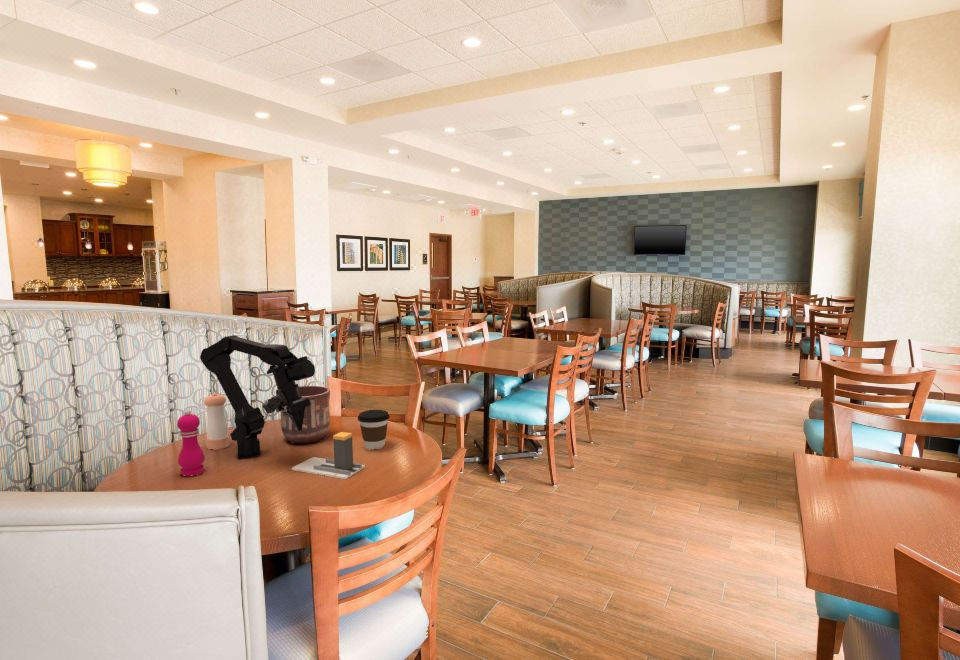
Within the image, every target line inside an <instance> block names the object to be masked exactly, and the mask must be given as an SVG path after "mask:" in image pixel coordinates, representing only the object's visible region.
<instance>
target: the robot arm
mask: <svg viewBox="0 0 960 660" xmlns="http://www.w3.org/2000/svg"><path fill="white" fill-rule="evenodd" d="M235 351H236V352H240V353H242V354H247V355H251V356H253V357H256V358H258V359H260V362H262V363H265V364H267V365H269V368H268V370H267V371H266V374H267V375H269V374H272V376H273V378H274V382H275V384H276V389H275V394H276V395H274V396H271V397H270V398H269V399H268V400H267V401H266V402H265V403H263V404H261V407H262V408H263V409H264V411H265V412H266V413H267V414H268V415H269V414H273V413H275V411H276V413H280V411H281V410H284V412H283V413H282V414H285V415H287V416H289V417H290V419H291V420H292V422H293V424H294V425H295V427H296V428H297V430H298V431H300V430H302V426H303V419H304V413H305V408H306V407H307V406H310V405H311V402H310V399H308V398H306V397H305V398H302V396H299V393H298V389H297V387H299V384H298V383H296V382H297V381H300V380H301V381H302V380H304V379H305V380H306V379H309V378H312V377H314V376H315V373H316V368H315V364H314V363H313V362H312V361H311V360H309V359H308V357H307V356H306V355H305V356H302V357H297V356H296V355H295V354H294V353H293V352H292V351H291V350H290V349H289V347H288V346H287V345H285V344H268V343H267V344H265V343H261V342H258V341H254V340H250V339H247V338H243V337H240V336H238V335H234V334H233V335H232V334H231V335H227V336H223V337H221V339H219V340H218V341H216V342H215V343H213V344H212V345H210V346H208V347H205V348H203V349H201V352H200V355H199V359H200V361H201V363H202V364H203V365H204V367H205V368H206V370H207V371H210V372H211V373H212V374H214V375H215V377H216V378H217V380H218V382H219V384H220V386H221V388H222V390H223V391H224V393H225V397H226V399H227V400H228V401H229V404H230V405H231V407H232V409H233V411H234V425H235V428H234V429H233V430H232V431H231V433H230V435H229V437H230V439H231V441H236V449H237V452H236V454H237V456H236V457H237V459H238V460H239V459H240V460H241V459H247V458H255V457H259V456H260V453H261V445H260V438H258V435H261V434H262V432H263V429H264V427H265V423H266V421H265V415H263V413H262V410H261V408H260V407H259V406H257V407H253V406H252V405H251V404H250V403H249V401H248V399H247V396H246V394H244V391H243V389H242V387H241V385H240V384H239V382H238V379H237V378H236V376H235V375H234V372H233V370H232V369H231V365H232V357H231V354H233V353H234V352H235Z"/></svg>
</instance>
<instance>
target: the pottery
mask: <svg viewBox="0 0 960 660" xmlns="http://www.w3.org/2000/svg"><path fill="white" fill-rule="evenodd" d="M298 386H299V385H298ZM297 389H298V393H299V396H302V398H305V397H306V398H308V399H310V402H311V405H310V406H307V407H306V408H305V413H304V419H303V426H302V430H300V431H298V430H297V428H296V427H295V425H294V424H293V422H292V420H291V419H290V417H289V416H287V415H285V414H282V413H283V412H284V410H281V411H280V412H279V413H280V427H281V428H280V429H281V431H282V434H283V436H284V438H285V439H286V440H287V441H288V442H289V443H291V442H292V444H295V443H300V444H299V445H302V444H301V443H307V444H312V443H311V442H313V443H316V442H319V441H321V440H322V439H323V438H324V437H325V436H326V434H327V433H328V432H329V429H330V425H331V424H330V421H331V419H330V398H331V390H330V388H328V387H326V386H320V385H301V386H299V387H297ZM320 439H321V440H320ZM318 440H319V441H318ZM315 441H316V442H315Z"/></svg>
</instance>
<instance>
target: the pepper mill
mask: <svg viewBox="0 0 960 660" xmlns="http://www.w3.org/2000/svg"><path fill="white" fill-rule="evenodd" d="M183 413H184V415H182V416H180V417H179V418H178V420H177V423H176V425H177V429H179V430H180V431H179V436H180V437H181V440H182V446H181V449H180V451H179V454H178V457H177V463H178V465H179V466H180V467H181V468H180V475H181V474H182V475H185V476H191V475H196V476H198V475H197V474H199V475H201V474H204V472H205V466H204V464H203V463H204V461H205V460H206V457H205V453H204V451H203V449H202V447H200V445H199V441H198V435H199V434H200V432H199V426H200V423H201V421H200V420H201V419H200V418H199V416H198V415H196V414H193V413H192V411H191V409H185V411H184V412H183Z"/></svg>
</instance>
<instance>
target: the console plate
mask: <svg viewBox="0 0 960 660" xmlns="http://www.w3.org/2000/svg"><path fill="white" fill-rule="evenodd" d="M365 468H366V465H365V464H363V463H358V462H353V468H352V469H350V470H349V471H348V470H342V469H336V468H335V466H334V458H333V459H332V458H322V457H316V456H312V457H311V458H308V459H307V460H304V461H303V462H301V463H299V464H297V465H295V466H293V467H291V471H295V472H296V471H297V472H302V473H308V474H313V475H318V474H319V476H324V475H325V477H331V478H337V479H342V480H347V479H349V478H350V477H351V476H353V475H355V474H356V473H358V472H360V471H362V470H363V469H365Z"/></svg>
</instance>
